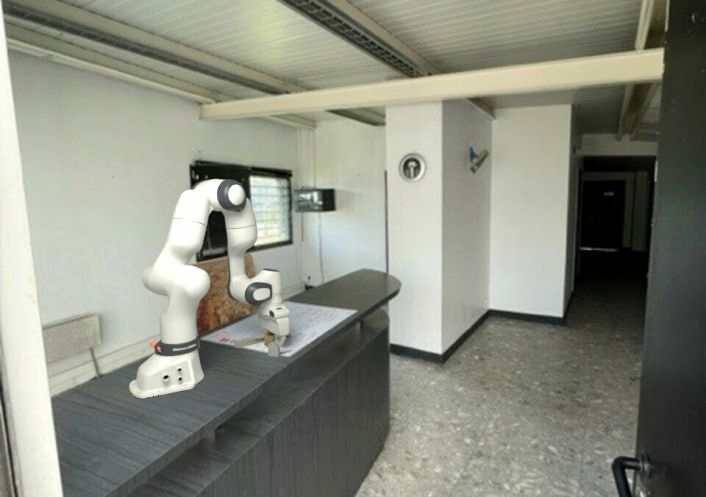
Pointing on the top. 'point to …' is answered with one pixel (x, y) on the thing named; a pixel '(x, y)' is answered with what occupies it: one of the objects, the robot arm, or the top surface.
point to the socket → (269, 338)
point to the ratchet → (251, 340)
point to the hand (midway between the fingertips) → (272, 341)
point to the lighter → (275, 347)
